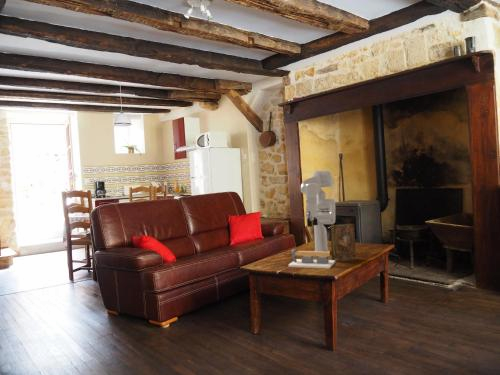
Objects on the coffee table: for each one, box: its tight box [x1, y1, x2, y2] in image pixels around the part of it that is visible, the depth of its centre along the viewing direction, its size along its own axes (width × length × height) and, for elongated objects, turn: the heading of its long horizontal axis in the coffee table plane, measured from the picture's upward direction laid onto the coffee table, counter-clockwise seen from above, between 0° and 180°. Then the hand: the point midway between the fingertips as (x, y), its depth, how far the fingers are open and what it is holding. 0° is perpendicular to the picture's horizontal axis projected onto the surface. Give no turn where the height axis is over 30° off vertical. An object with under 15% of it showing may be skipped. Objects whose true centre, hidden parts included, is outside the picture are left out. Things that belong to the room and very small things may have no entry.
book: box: [330, 223, 357, 263], centre depth 290 cm, size 16×6×25 cm, turn 101°
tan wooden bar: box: [291, 248, 331, 258], centre depth 282 cm, size 4×26×4 cm, turn 67°
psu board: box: [288, 255, 336, 270], centre depth 282 cm, size 18×28×6 cm, turn 67°
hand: (312, 225), depth 286 cm, fingers open, 9 cm apart
